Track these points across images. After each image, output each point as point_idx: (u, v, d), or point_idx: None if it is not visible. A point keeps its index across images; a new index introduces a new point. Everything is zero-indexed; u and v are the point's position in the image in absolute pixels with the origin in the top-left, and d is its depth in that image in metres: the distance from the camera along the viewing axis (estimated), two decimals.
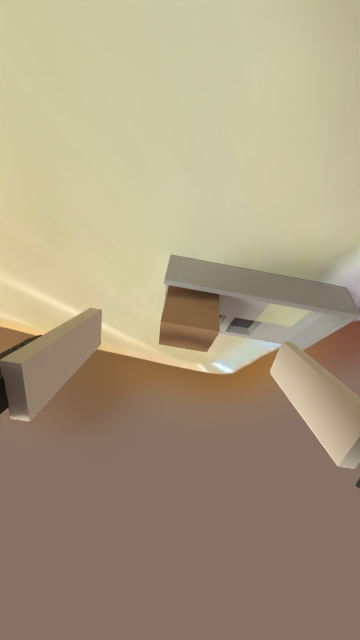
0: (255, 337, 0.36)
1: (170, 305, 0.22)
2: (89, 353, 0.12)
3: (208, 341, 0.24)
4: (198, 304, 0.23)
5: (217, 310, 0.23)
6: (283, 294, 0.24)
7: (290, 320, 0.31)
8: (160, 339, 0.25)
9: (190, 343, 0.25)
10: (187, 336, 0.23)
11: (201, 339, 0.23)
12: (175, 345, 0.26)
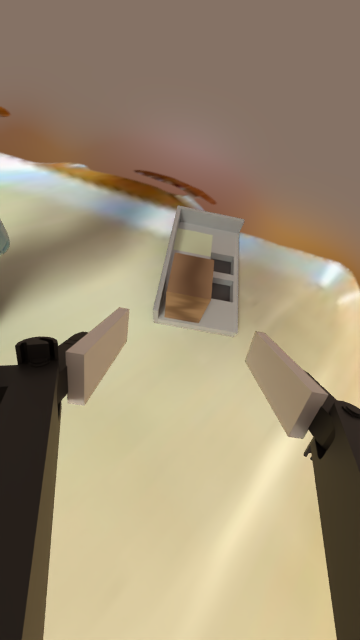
0: (235, 252, 0.39)
1: None
2: (119, 349, 0.13)
3: (192, 259, 0.27)
4: None
5: None
6: None
7: (204, 237, 0.40)
8: (200, 296, 0.24)
9: (201, 271, 0.26)
10: (188, 273, 0.25)
11: (190, 263, 0.26)
12: (208, 285, 0.25)
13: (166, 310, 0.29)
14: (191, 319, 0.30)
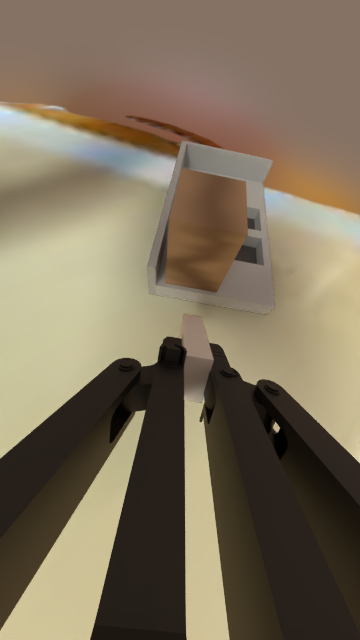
0: (261, 204, 0.29)
1: None
2: None
3: (211, 178, 0.16)
4: None
5: None
6: None
7: None
8: (228, 229, 0.14)
9: (226, 195, 0.15)
10: (206, 196, 0.15)
11: (208, 183, 0.16)
12: (240, 213, 0.15)
13: (168, 268, 0.18)
14: (206, 285, 0.20)
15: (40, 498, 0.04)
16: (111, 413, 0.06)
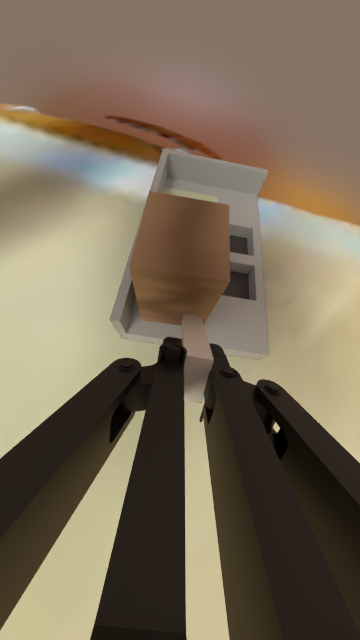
0: (254, 221, 0.25)
1: None
2: None
3: (186, 203, 0.13)
4: None
5: None
6: None
7: (206, 200, 0.26)
8: (205, 275, 0.11)
9: (204, 226, 0.12)
10: (178, 229, 0.12)
11: (182, 210, 0.13)
12: (221, 251, 0.12)
13: (141, 308, 0.15)
14: None
15: (40, 498, 0.04)
16: (111, 413, 0.06)
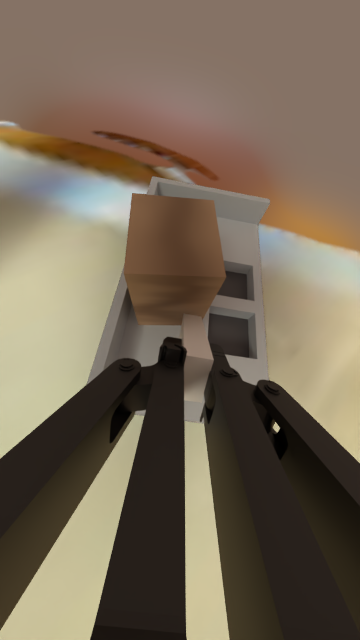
0: (254, 257, 0.23)
1: None
2: None
3: (171, 202, 0.13)
4: None
5: None
6: None
7: None
8: (201, 273, 0.11)
9: (193, 224, 0.12)
10: (167, 230, 0.12)
11: (168, 210, 0.13)
12: (213, 247, 0.12)
13: (138, 313, 0.15)
14: None
15: (40, 498, 0.04)
16: (111, 413, 0.06)
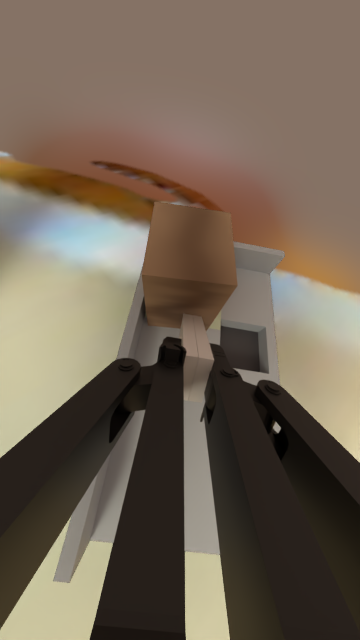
0: (267, 315, 0.20)
1: None
2: None
3: (190, 212, 0.14)
4: None
5: None
6: None
7: None
8: (214, 280, 0.11)
9: (209, 233, 0.13)
10: (185, 237, 0.13)
11: (187, 219, 0.13)
12: (227, 257, 0.12)
13: (149, 314, 0.16)
14: None
15: (39, 498, 0.04)
16: (111, 413, 0.06)
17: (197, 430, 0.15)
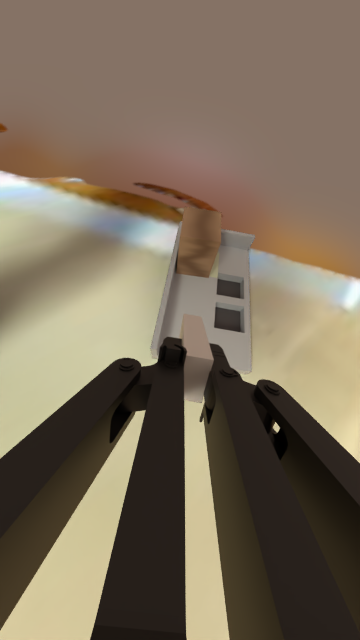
0: (245, 271, 0.35)
1: None
2: None
3: (201, 211, 0.29)
4: None
5: None
6: None
7: None
8: (210, 239, 0.26)
9: (210, 221, 0.28)
10: (198, 222, 0.28)
11: (199, 215, 0.29)
12: (217, 231, 0.27)
13: (178, 263, 0.31)
14: (201, 273, 0.32)
15: (40, 498, 0.04)
16: (111, 413, 0.06)
17: (204, 320, 0.29)
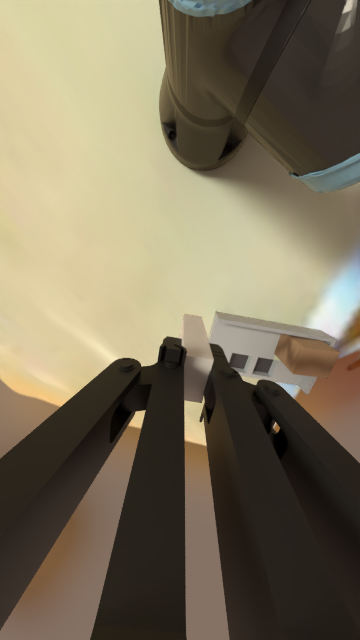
0: (275, 379, 0.46)
1: (299, 341, 0.36)
2: None
3: (330, 364, 0.35)
4: (313, 342, 0.37)
5: (326, 344, 0.37)
6: (288, 329, 0.39)
7: None
8: (296, 367, 0.35)
9: (317, 369, 0.35)
10: (317, 361, 0.35)
11: (326, 362, 0.35)
12: (305, 373, 0.36)
13: (288, 336, 0.39)
14: (277, 350, 0.42)
15: (40, 498, 0.04)
16: (111, 413, 0.06)
17: (237, 347, 0.43)
